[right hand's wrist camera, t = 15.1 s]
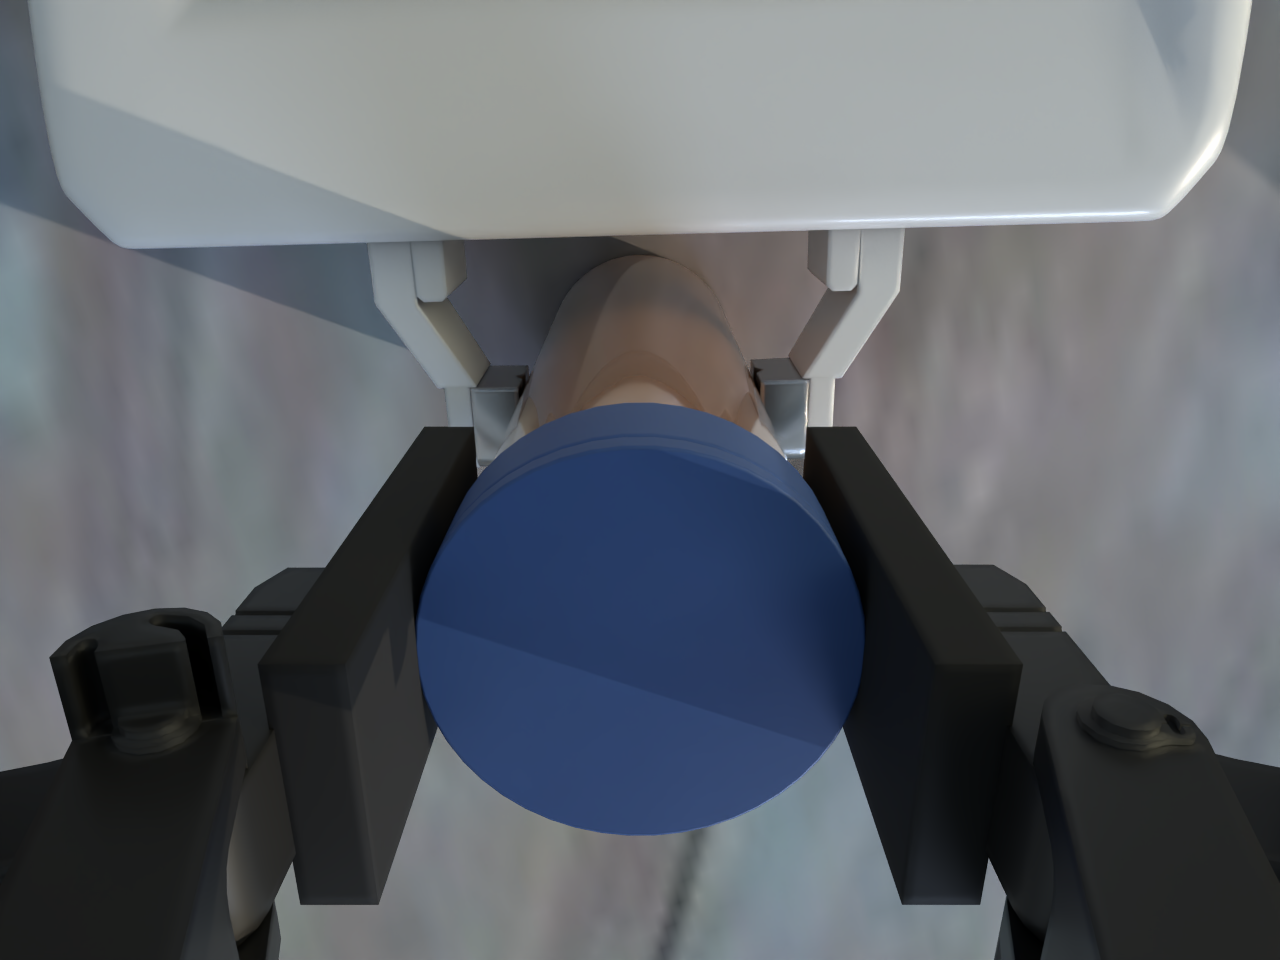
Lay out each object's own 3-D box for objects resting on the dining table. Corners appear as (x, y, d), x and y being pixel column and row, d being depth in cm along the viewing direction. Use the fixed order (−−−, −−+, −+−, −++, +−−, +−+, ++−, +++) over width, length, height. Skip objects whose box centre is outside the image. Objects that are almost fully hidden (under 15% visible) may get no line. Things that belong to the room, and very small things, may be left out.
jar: (765, 335, 25) (930, 621, 11) (649, 460, 26) (659, 862, 12) (631, 215, 24) (615, 357, 10) (516, 353, 25) (355, 657, 11)
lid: (919, 571, 12) (962, 639, 10) (658, 810, 13) (661, 902, 12) (617, 313, 11) (613, 346, 9) (364, 607, 12) (324, 679, 10)
